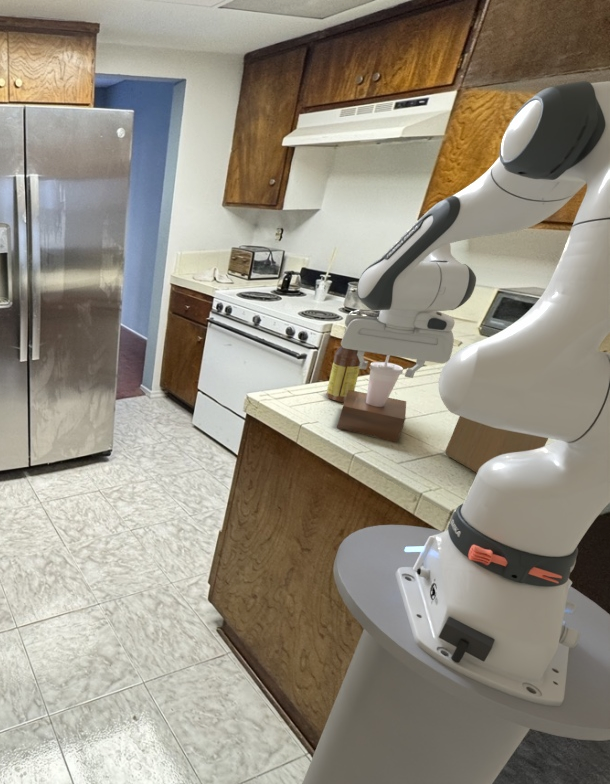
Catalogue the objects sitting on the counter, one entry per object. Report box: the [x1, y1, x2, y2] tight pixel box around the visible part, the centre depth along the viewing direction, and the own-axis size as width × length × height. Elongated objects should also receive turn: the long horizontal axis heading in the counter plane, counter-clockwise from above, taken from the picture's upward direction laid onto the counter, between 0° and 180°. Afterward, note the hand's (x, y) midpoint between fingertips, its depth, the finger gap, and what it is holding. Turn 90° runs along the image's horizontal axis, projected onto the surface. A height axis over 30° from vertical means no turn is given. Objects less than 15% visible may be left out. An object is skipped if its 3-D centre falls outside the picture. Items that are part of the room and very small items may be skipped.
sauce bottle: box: [326, 327, 360, 403], centre depth 126 cm, size 6×6×20 cm
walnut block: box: [336, 390, 407, 443], centre depth 114 cm, size 12×12×6 cm
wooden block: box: [445, 416, 549, 474], centre depth 95 cm, size 10×10×20 cm
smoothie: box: [366, 355, 404, 407], centre depth 110 cm, size 6×6×14 cm
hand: (385, 372), depth 110 cm, fingers open, 7 cm apart
